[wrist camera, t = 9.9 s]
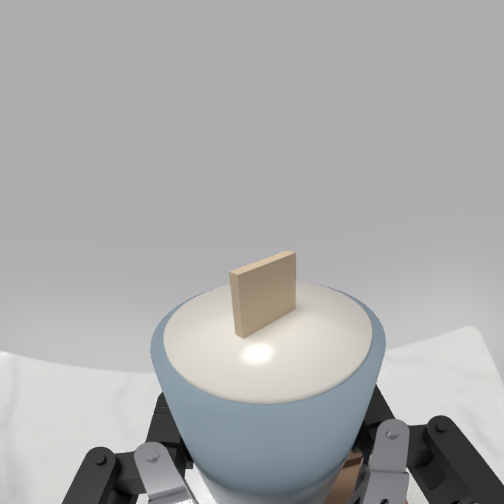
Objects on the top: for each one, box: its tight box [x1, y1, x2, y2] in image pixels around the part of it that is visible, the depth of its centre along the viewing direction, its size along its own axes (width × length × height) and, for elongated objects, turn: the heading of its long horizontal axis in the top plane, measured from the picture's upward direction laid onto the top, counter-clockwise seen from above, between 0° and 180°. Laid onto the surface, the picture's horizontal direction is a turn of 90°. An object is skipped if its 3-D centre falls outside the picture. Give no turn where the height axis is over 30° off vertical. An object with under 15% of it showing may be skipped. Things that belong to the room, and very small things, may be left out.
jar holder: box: [323, 449, 408, 504], centre depth 14 cm, size 12×12×3 cm
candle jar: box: [150, 251, 386, 504], centre depth 9 cm, size 6×6×13 cm
